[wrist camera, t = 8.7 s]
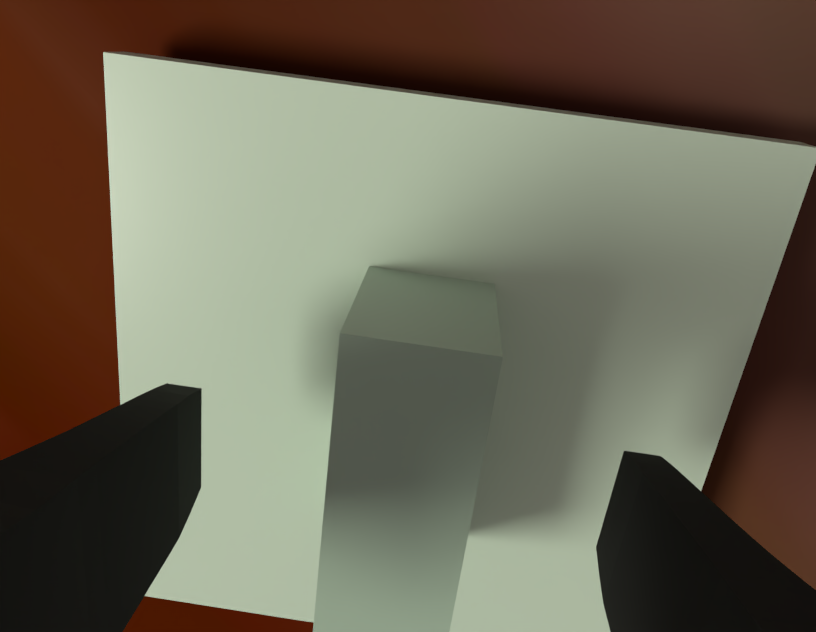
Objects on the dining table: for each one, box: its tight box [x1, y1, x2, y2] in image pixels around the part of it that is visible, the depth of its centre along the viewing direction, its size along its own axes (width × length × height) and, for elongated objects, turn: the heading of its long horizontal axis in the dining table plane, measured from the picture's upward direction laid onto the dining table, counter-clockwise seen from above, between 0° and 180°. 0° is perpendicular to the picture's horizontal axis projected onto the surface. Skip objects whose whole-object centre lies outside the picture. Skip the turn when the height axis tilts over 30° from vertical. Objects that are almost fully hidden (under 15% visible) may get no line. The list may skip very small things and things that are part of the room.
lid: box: [103, 52, 816, 632], centre depth 13 cm, size 12×12×5 cm
